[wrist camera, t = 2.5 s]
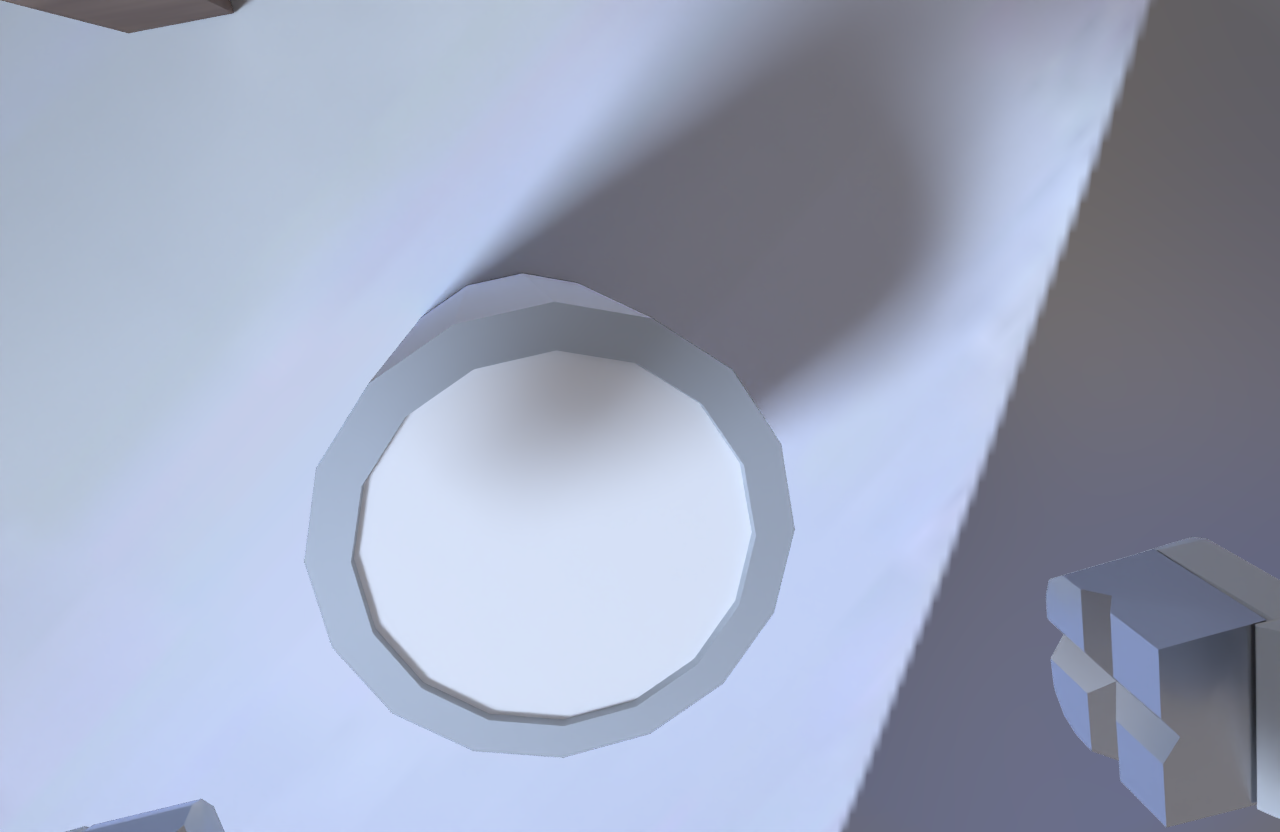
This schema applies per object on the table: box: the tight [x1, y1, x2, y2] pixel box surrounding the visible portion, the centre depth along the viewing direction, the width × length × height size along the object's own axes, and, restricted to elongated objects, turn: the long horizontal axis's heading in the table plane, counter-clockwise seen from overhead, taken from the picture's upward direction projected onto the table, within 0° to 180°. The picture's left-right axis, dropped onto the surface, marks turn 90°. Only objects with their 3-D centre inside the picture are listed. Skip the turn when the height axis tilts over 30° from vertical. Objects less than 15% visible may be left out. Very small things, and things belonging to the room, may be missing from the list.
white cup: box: [304, 273, 795, 758], centre depth 18 cm, size 7×7×7 cm
